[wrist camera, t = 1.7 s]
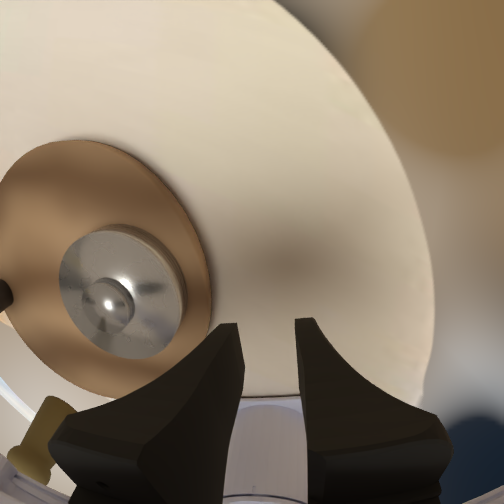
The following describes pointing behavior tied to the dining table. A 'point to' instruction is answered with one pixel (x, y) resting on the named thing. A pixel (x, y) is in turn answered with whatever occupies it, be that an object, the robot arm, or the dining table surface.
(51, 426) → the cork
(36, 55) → the dining table surface
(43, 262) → the turntable
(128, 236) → the cover
